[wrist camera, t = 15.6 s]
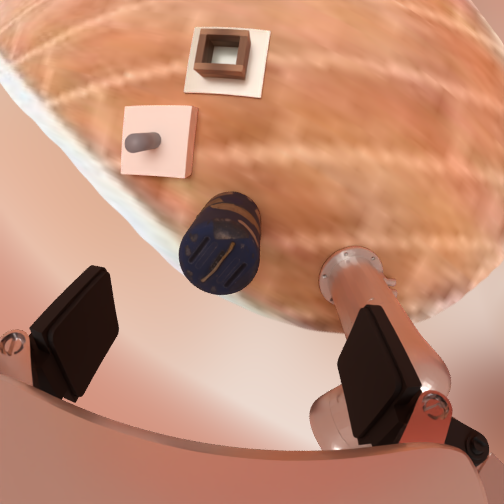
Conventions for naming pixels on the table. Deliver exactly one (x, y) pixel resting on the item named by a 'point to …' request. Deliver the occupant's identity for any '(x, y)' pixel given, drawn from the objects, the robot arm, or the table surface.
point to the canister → (223, 245)
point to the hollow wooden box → (224, 39)
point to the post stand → (158, 140)
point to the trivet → (229, 56)
